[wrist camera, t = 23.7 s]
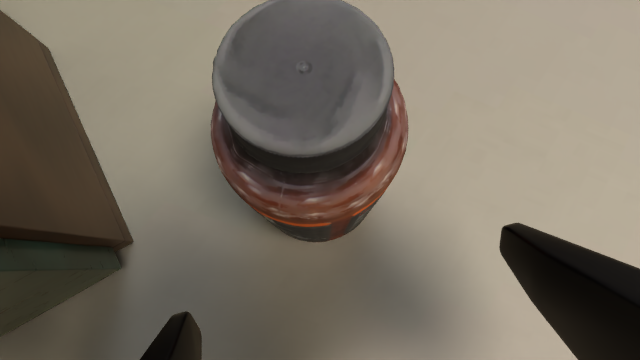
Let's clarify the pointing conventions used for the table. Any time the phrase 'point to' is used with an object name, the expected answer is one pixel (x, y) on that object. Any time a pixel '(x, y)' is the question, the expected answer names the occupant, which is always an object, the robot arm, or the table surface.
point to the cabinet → (48, 155)
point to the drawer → (46, 276)
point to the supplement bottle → (308, 115)
